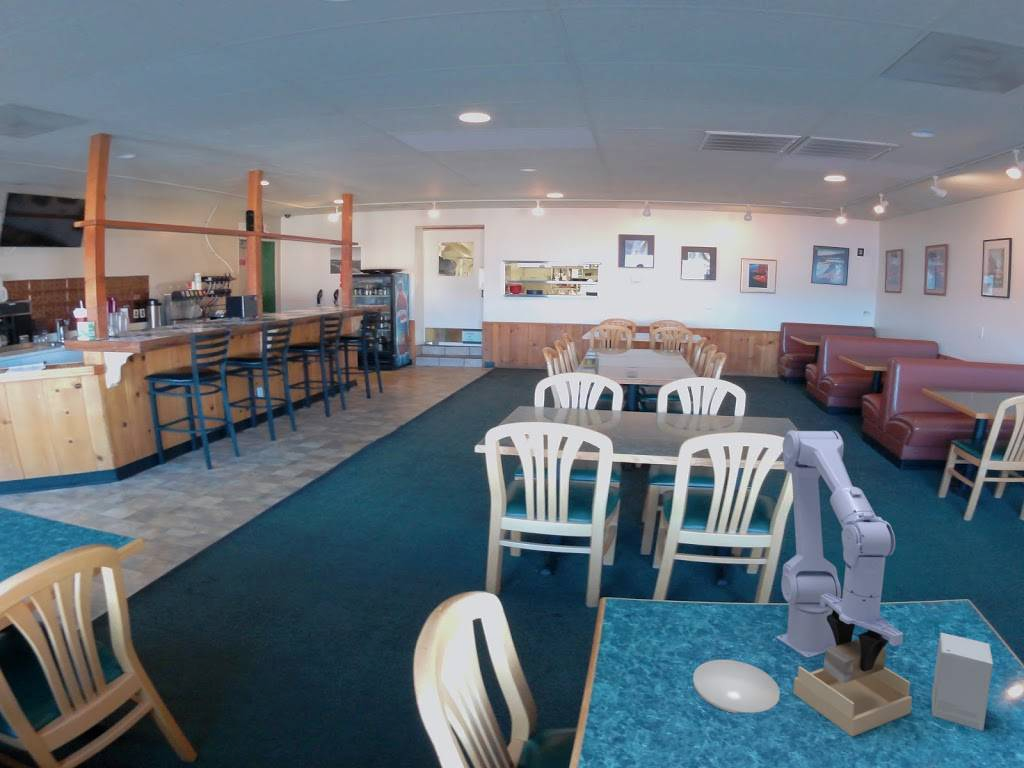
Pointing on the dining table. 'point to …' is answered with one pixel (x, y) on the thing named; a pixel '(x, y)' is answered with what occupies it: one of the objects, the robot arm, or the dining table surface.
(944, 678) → the supplement box
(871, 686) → the wooden tray
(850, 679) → the brown rectangular block
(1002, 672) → the dining table surface
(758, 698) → the plate
